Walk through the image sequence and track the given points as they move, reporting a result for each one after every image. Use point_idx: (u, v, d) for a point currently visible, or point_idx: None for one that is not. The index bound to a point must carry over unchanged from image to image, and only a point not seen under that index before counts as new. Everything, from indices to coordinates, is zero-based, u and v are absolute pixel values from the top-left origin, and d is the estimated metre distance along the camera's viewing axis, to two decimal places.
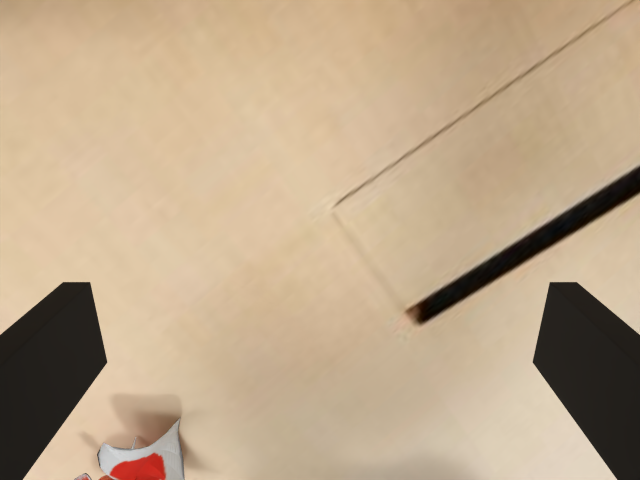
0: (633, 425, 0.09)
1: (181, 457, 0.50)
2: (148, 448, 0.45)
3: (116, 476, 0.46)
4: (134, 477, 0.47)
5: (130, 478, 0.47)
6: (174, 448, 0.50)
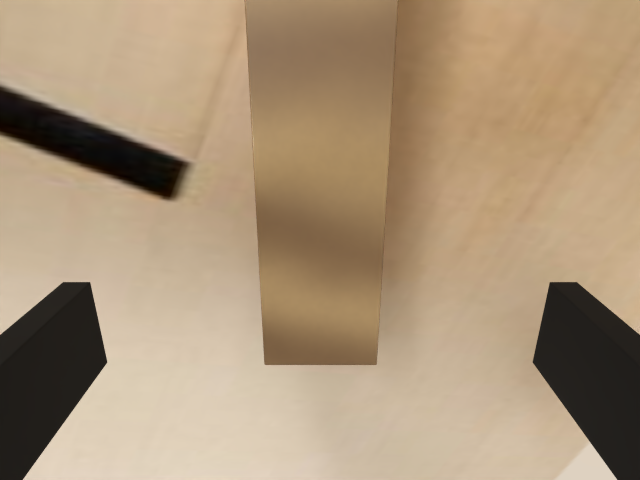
0: (633, 425, 0.09)
1: None
2: None
3: None
4: None
5: None
6: None
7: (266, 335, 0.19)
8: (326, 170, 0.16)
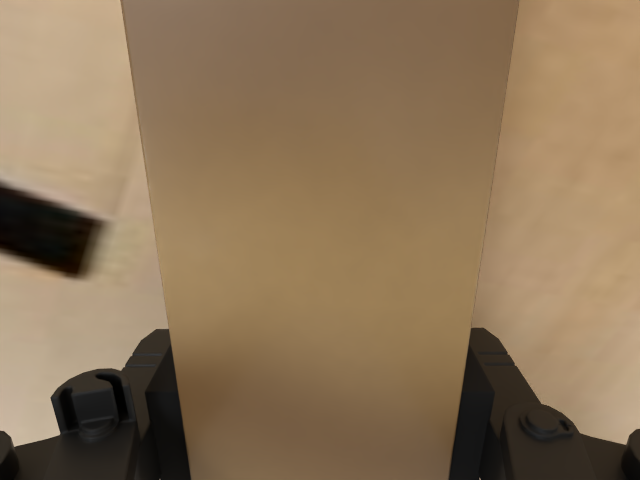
0: None
1: None
2: None
3: None
4: None
5: None
6: None
7: None
8: (333, 299, 0.07)
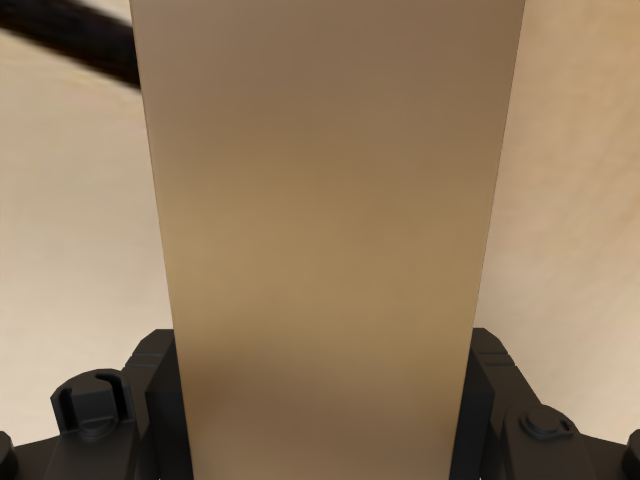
0: None
1: None
2: None
3: None
4: None
5: None
6: None
7: None
8: (336, 298, 0.07)
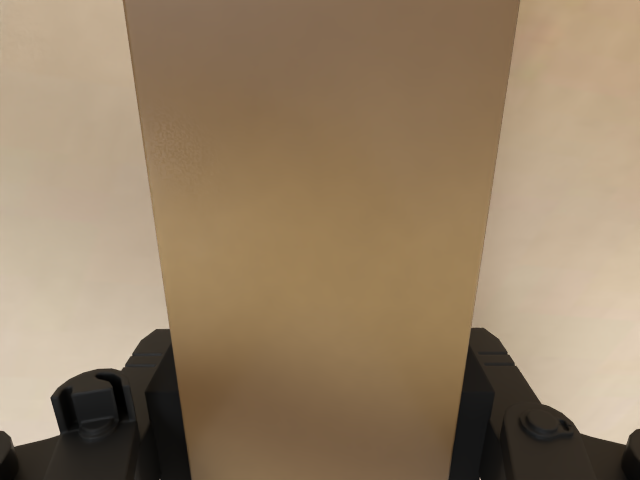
0: None
1: None
2: None
3: None
4: None
5: None
6: None
7: None
8: (333, 298, 0.07)
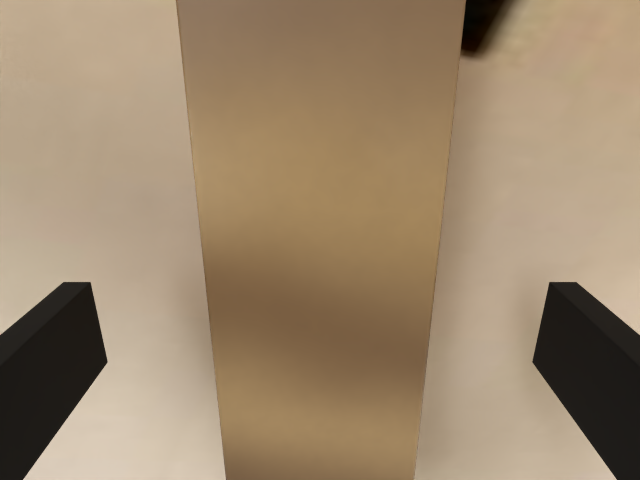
0: (633, 425, 0.09)
1: None
2: None
3: None
4: None
5: None
6: None
7: (230, 469, 0.11)
8: (329, 206, 0.09)
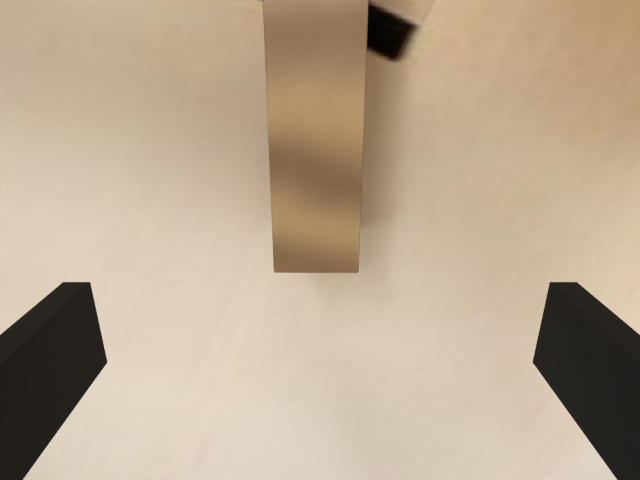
0: (633, 425, 0.09)
1: None
2: None
3: None
4: None
5: None
6: None
7: (275, 248, 0.25)
8: (319, 120, 0.23)
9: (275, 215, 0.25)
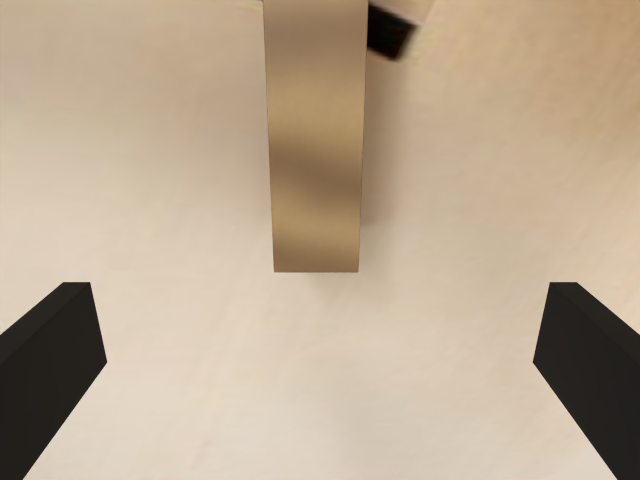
0: (633, 425, 0.09)
1: None
2: None
3: None
4: None
5: None
6: None
7: (275, 247, 0.25)
8: (319, 119, 0.23)
9: (275, 215, 0.25)
